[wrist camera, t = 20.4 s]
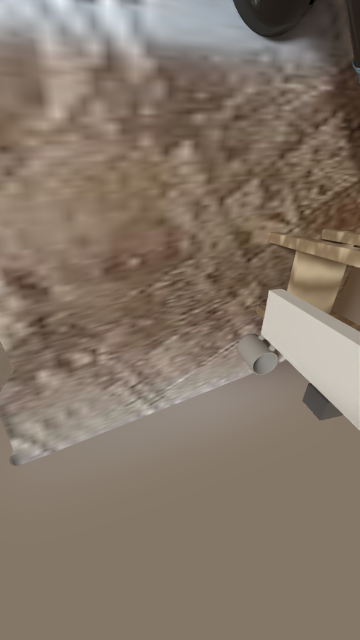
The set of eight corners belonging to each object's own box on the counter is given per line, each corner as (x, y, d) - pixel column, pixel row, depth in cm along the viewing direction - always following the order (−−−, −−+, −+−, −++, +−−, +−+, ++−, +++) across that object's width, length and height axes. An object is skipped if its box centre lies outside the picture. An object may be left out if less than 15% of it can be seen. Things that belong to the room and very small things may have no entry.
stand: (269, 232, 48) (437, 267, 22) (330, 229, 51) (543, 256, 25) (255, 312, 58) (362, 403, 32) (308, 306, 61) (445, 384, 35)
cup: (231, 348, 62) (246, 369, 54) (255, 321, 59) (274, 339, 52) (247, 357, 65) (263, 378, 57) (270, 333, 62) (291, 351, 55)
